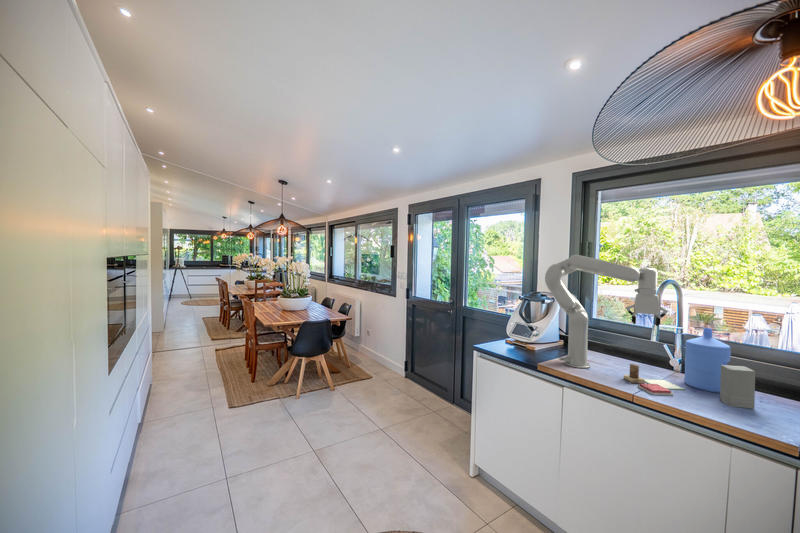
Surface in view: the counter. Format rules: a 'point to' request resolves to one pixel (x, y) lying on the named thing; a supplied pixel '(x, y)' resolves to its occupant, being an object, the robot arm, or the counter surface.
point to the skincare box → (737, 386)
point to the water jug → (705, 361)
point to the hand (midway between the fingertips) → (645, 324)
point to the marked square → (664, 384)
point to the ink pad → (655, 389)
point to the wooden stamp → (634, 375)
